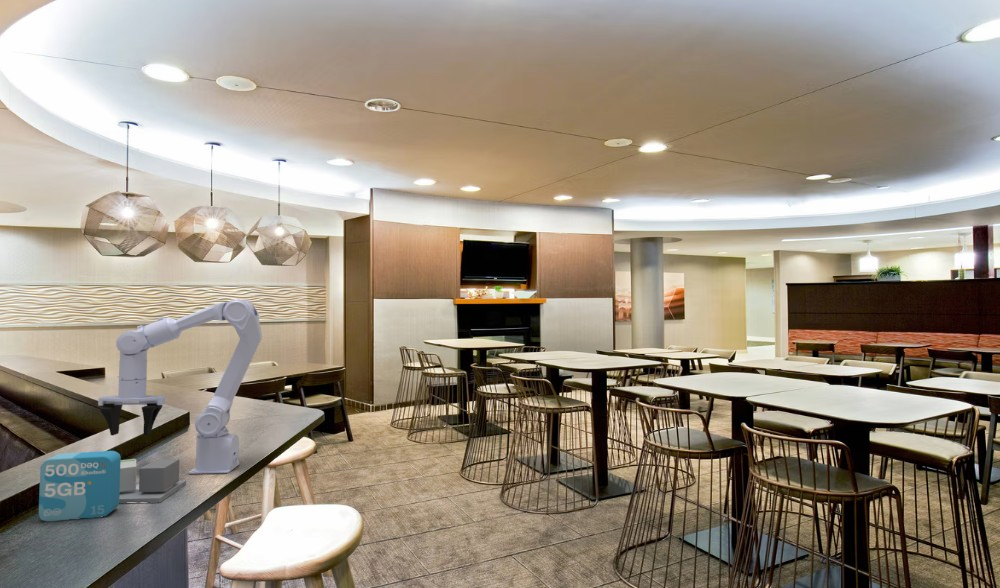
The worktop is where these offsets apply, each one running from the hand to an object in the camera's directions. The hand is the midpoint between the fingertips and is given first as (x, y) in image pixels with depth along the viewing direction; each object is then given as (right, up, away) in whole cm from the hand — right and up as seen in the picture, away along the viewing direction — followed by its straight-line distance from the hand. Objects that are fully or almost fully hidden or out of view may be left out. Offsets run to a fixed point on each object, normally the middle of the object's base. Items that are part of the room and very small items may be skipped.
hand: (131, 434), depth 134 cm
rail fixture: (+9, -10, -14) cm, 19 cm away
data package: (+8, -10, -27) cm, 29 cm away
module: (+8, -8, -14) cm, 18 cm away
